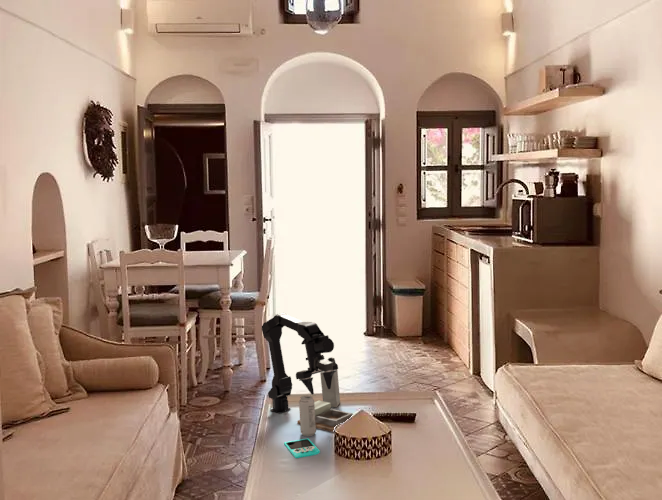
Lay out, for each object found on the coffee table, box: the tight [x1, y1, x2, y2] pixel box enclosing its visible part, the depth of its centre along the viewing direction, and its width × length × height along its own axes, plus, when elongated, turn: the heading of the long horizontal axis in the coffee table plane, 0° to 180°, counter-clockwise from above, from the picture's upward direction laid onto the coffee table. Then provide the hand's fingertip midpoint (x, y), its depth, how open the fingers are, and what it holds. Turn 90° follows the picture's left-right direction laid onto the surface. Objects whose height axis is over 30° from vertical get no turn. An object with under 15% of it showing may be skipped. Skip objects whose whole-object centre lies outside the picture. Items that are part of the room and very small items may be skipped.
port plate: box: [296, 400, 354, 433], centre depth 303 cm, size 20×16×6 cm
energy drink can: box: [298, 394, 317, 437], centre depth 290 cm, size 6×6×15 cm
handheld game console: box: [283, 437, 321, 459], centre depth 275 cm, size 10×16×1 cm, turn 19°
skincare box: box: [319, 369, 341, 408], centre depth 326 cm, size 8×7×16 cm
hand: (321, 391), depth 300 cm, fingers open, 9 cm apart
